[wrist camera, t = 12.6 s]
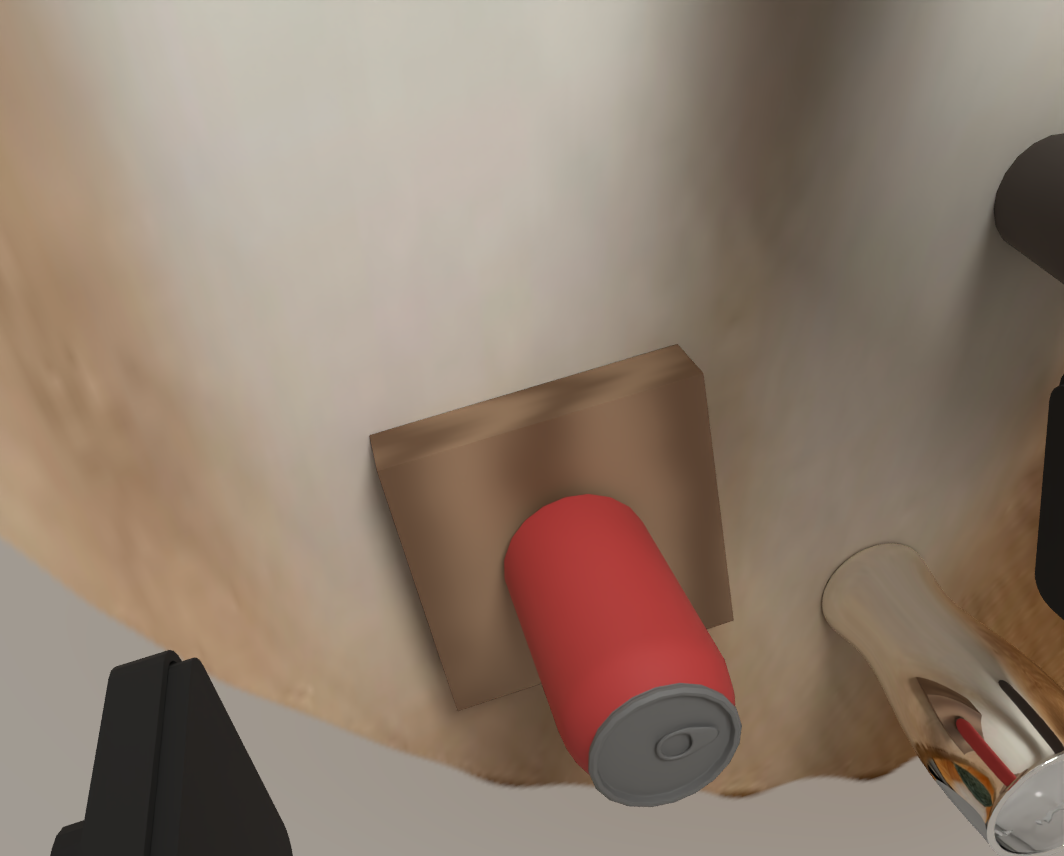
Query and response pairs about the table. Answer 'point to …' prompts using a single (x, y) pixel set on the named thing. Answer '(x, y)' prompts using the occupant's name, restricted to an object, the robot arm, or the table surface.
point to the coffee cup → (1035, 205)
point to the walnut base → (550, 499)
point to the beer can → (621, 652)
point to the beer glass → (958, 697)
